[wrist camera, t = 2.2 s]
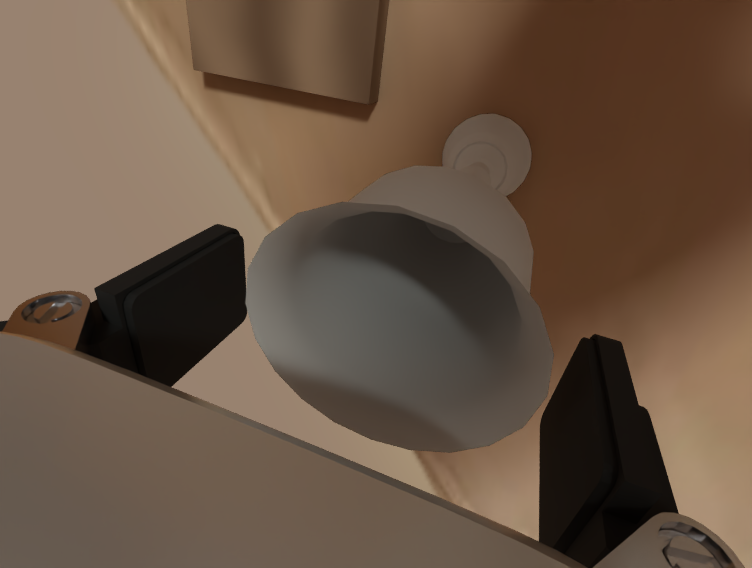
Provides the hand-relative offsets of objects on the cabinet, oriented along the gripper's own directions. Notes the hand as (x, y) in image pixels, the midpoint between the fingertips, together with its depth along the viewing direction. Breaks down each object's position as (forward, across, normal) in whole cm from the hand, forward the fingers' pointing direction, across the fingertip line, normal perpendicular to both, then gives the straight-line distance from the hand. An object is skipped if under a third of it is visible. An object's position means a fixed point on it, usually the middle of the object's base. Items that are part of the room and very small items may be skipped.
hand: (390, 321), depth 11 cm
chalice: (+17, 0, -1) cm, 17 cm away
